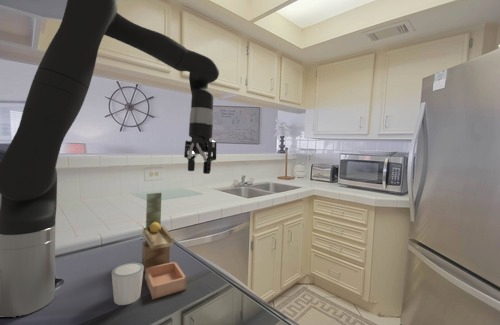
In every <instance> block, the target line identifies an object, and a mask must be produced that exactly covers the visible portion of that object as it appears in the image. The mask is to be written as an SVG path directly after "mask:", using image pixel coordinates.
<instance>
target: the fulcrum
mask: <svg viewBox="0 0 500 325" xmlns="http://www.w3.org/2000/svg"><path fill="white" fill-rule="evenodd" d="M170 247H171V246H169V247H163V248H158V249H153V250H151V248H150V247H149V245H148V243H147V241H146V240H144V241H143V242H142V249H141V250H142V256H141V257H142V258H141V259H142V260H141V264H142V265H143V266H144V270H143V272H145V268H148V267H153V266H157V265H162V264H166V263H170V254H171V253H170V249H171V248H170Z"/></svg>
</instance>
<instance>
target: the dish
mask: <svg viewBox="0 0 500 325" xmlns="http://www.w3.org/2000/svg"><path fill="white" fill-rule="evenodd" d="M187 279H188V278H187V276H186V274H184V272H183V270H182V269H181V268H180V266H179V264H178V263H177V261H171V262H169V263H166V264H162V265H157V266H153V267H148V268H145V271H144V280H145V283H146V286H147V289H148V291H149V294H150V296H151V300H155V299H157V298H161V297H165V296H168V295H169V296H170V295H172V294H175V293H178V292H181V291H185V290H187V281H188V280H187Z"/></svg>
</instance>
